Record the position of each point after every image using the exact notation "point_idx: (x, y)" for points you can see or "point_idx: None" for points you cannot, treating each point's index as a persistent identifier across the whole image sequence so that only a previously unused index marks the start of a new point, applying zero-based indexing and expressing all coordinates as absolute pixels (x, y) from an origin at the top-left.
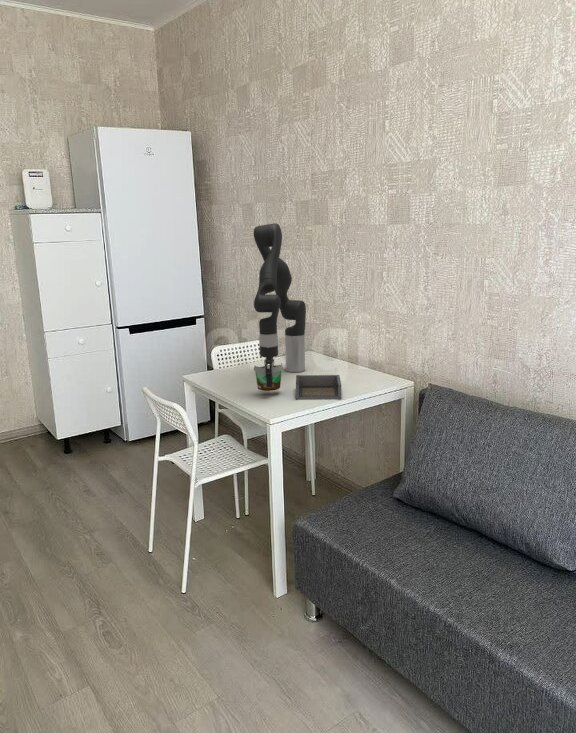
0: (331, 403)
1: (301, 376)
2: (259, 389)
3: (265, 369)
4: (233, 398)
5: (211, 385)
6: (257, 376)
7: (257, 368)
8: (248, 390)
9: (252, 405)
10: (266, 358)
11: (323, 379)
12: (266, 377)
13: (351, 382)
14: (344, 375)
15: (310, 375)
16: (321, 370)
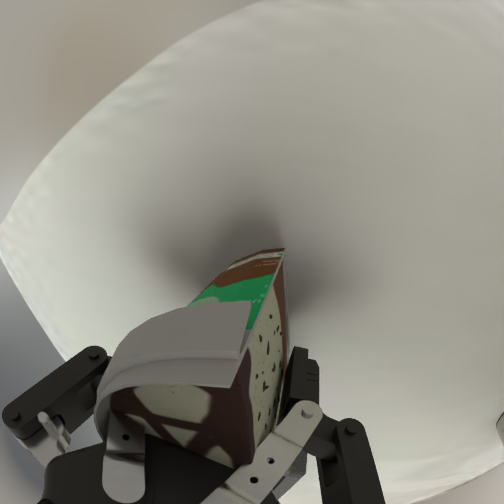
0: None
1: (283, 478)
2: (250, 255)
3: (32, 387)
4: (203, 61)
5: (500, 17)
6: (214, 297)
7: (122, 362)
8: (385, 182)
9: (72, 179)
10: (39, 501)
11: None
12: (93, 350)
13: (318, 496)
14: (389, 491)
15: (279, 492)
16: (467, 457)
